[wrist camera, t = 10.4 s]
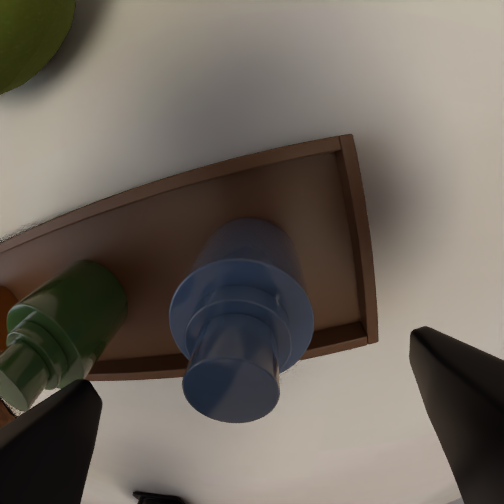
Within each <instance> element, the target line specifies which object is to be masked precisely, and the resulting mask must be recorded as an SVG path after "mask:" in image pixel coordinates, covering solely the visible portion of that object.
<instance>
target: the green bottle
mask: <svg viewBox="0 0 504 504" xmlns="http://www.w3.org/2000/svg"><path fill="white" fill-rule="evenodd" d="M127 315H128V301H127V297H126V294H125V291H124V289H123V287H122V285H121V284H120V282H119V281H118V279H117V278H116V277H115V276H114V275H113V273H111V272H110V271H109V270H108V269H107V268H105V267H104V266H102V265H101V264H99V263H97V262H94V261H91V260H78V261H75V262H73V263H71V264H69V265H68V266H67V267H65V268H64V269H62V270H61V271H59V272H58V273H57V274H55V275H54V276H52V277H51V278H50V279H48V280H47V281H45V282H44V283H43V284H41V285H40V286H39V287H37V288H36V289H35V290H33V291H32V292H31V293H29V294H28V295H27V296H25V297H24V298H23V299H21V300H20V301H19V302H18V303H16V304H15V305H14V306H12V307H11V309H10V310H9V312H8V315H7V331H8V335H7V338H6V347H7V348H6V349H5V350H4V351H3V352H2V353H1V354H0V396H1V397H2V398H3V399H4V400H5V401H6V402H8V403H9V404H10V405H11V406H13V407H14V408H16V409H18V410H20V411H27V410H29V408H30V407H31V406H32V404H33V403H34V402H35V400H36V399H37V398H38V396H39V395H40V394H41V392H42V391H43V390H44V389H46V390H52V389H55V388H60V389H62V388H64V387H65V386H67V385H68V384H70V383H71V382H73V381H75V380H77V379H85V377H86V376H87V375H88V373H89V372H90V370H91V369H92V367H93V366H94V365H95V363H96V362H97V360H98V359H99V357H100V356H101V355H102V353H103V352H104V350H105V349H106V348H107V346H108V345H109V343H110V342H111V341H112V339H113V338H114V337H115V335H116V334H117V332H118V331H119V330H120V328H121V327H122V326H123V324H124V323H125V321H126V318H127Z"/></svg>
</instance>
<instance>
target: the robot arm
mask: <svg viewBox="0 0 504 504" xmlns="http://www.w3.org/2000/svg"><path fill="white" fill-rule="evenodd" d="M409 359H410V364H411V367H412V370H413V373H414V375H415V378H416V381H417V384H418V387H419V390H420V393H421V396H422V399H423V402H424V405H425V408H426V411H427V414H428V416H429V418H430V421H431V423H432V425H433V427H434V429H435V432H436V434H437V436H438V438H439V441H440V443H441V445H442V448H443V450H444V452H445V455H446V457H447V460H448V462H449V465H450V467H451V470H452V472H453V475H454V477H455V480H456V482H457V485H458V488H459V490H460V493H461V496H462V498H463V501H464V504H504V360H502V359H499V358H497V357H495V356H493V355H490V354H488V353H486V352H484V351H481V350H479V349H477V348H475V347H473V346H470V345H468V344H466V343H464V342H461V341H459V340H457V339H455V338H452V337H450V336H448V335H446V334H443V333H441V332H439V331H437V330H434V329H432V328H430V327H427V326H424V327H421V328H418V329H414V330H413V331H412V332H411V335H410V351H409ZM101 410H102V400H101V398H100V396H99V395H98V393H97V392H96V390H95V389H94V387H93V386H92V384H91V383H90V382H89V381H88V380H86V379H77V380H75V381H73V382H71V383H70V384H68V385H67V386H65V387H64V388H62V389H61V390H59V391H58V392H56V393H54V394H53V395H51V396H50V397H48V398H47V399H45V400H44V401H42V402H40V403H39V404H37V405H36V406H34V407H33V408H31V409H29V410H28V411H26V412H25V413H23V414H22V415H20V416H18V417H17V418H15V419H14V420H12V421H11V422H9V423H7V424H6V425H4V426H3V427H1V428H0V504H80V503H81V498H82V494H83V490H84V485H85V481H86V477H87V473H88V469H89V465H90V462H91V458H92V454H93V450H94V446H95V441H96V436H97V431H98V425H99V420H100V415H101ZM133 496H134V497H135V498H137V499H138V500H139V501H138V504H186V503H185V502H184V501H183V500H182V499H180V498H178V497H171V496H162V495H153V494H146V493H139V492H133Z"/></svg>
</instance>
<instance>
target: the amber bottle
mask: <svg viewBox="0 0 504 504" xmlns="http://www.w3.org/2000/svg"><path fill="white" fill-rule="evenodd" d="M18 302H19V301H18V299H17V298H16V297H15V296H14V295H13V294H12V293H11V292H10V291H9V290H8V289H7V288H5V287H3V286H0V354H1V353H2V352H3V351H4V350H5V349H6V348H7V347H6V338H7V335H8V331H7V315H8V312H9V310H10V309H11V307H12V306H14V305H15V304H16V303H18Z"/></svg>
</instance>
